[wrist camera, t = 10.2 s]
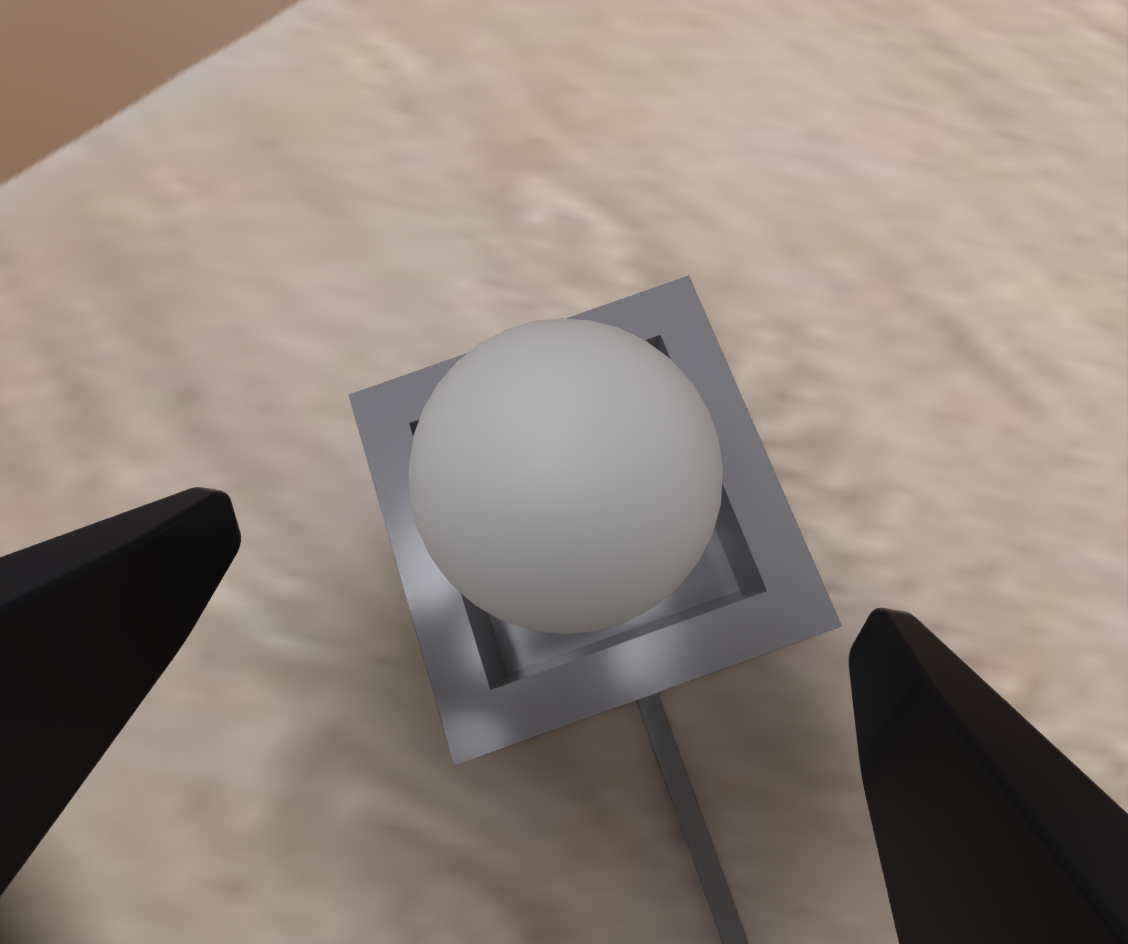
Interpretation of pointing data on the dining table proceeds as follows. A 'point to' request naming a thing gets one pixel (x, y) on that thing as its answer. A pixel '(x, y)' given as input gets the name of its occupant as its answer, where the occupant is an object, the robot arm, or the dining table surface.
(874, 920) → the dining table surface
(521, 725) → the grey square pan
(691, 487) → the lightbulb
